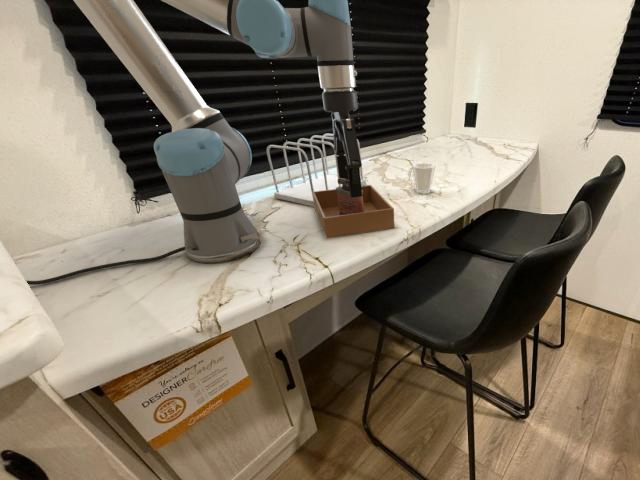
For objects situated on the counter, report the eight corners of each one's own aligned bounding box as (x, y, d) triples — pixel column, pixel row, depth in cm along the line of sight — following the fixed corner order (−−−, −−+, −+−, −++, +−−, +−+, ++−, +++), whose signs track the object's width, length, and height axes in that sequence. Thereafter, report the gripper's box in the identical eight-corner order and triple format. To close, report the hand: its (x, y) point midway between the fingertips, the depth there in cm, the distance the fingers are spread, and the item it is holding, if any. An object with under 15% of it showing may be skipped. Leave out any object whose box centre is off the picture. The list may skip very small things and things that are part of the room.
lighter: (367, 218, 87) (364, 179, 81) (359, 222, 85) (356, 183, 79) (344, 212, 90) (340, 175, 85) (336, 216, 88) (331, 178, 82)
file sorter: (328, 178, 119) (322, 131, 110) (366, 185, 111) (363, 135, 102) (274, 198, 102) (261, 144, 93) (315, 208, 94) (305, 150, 85)
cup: (423, 196, 101) (424, 169, 96) (401, 189, 107) (401, 163, 102) (438, 191, 105) (440, 165, 100) (417, 185, 111) (417, 160, 106)
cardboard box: (326, 238, 77) (323, 218, 74) (315, 209, 93) (312, 191, 90) (394, 227, 82) (393, 208, 79) (372, 201, 98) (370, 184, 95)
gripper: (370, 92, 62) (378, 201, 74) (344, 87, 81) (353, 174, 94) (331, 94, 60) (345, 206, 72) (314, 88, 79) (327, 177, 92)
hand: (350, 188), depth 83 cm, fingers open, 13 cm apart
